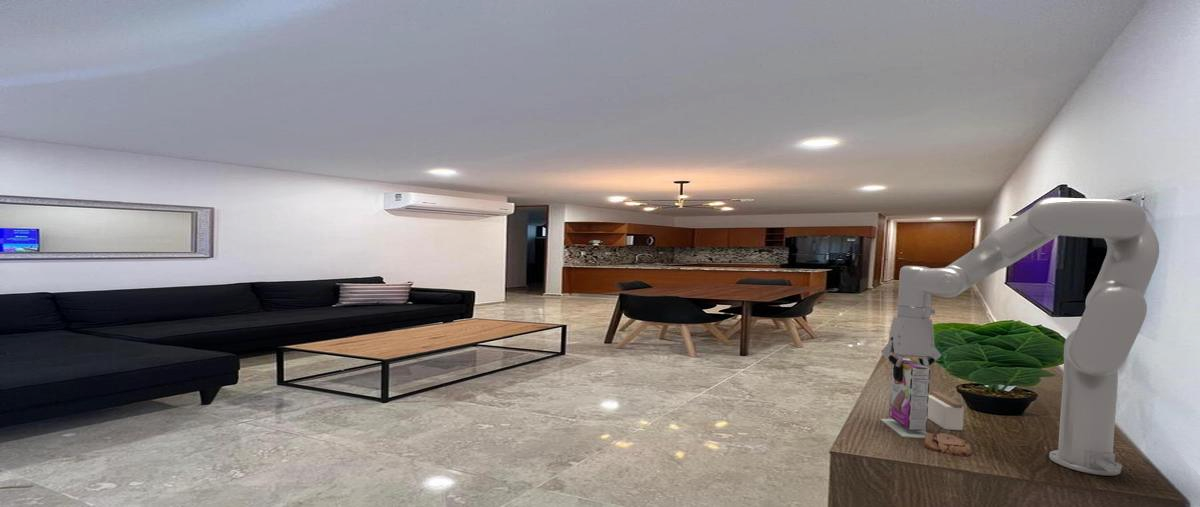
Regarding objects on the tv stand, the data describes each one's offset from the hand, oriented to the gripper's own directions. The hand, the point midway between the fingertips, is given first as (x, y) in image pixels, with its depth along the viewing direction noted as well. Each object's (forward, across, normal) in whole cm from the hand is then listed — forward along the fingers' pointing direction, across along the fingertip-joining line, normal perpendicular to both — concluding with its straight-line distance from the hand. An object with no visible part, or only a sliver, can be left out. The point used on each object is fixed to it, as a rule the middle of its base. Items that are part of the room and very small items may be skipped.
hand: (909, 380), depth 155 cm
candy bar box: (+12, 0, 0) cm, 12 cm away
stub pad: (+13, 0, 0) cm, 13 cm away
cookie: (+13, -4, +13) cm, 19 cm away
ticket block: (+13, -13, -8) cm, 20 cm away
